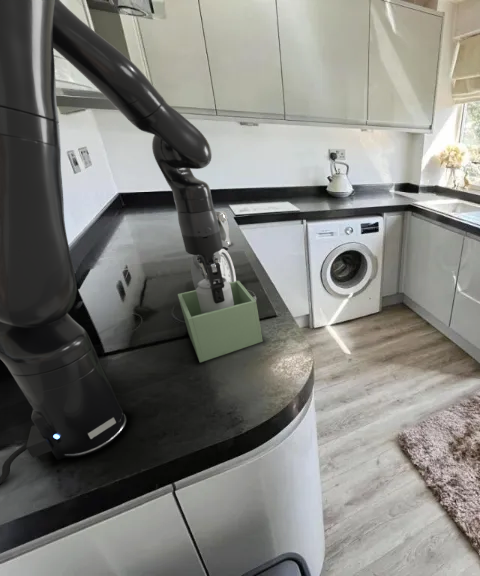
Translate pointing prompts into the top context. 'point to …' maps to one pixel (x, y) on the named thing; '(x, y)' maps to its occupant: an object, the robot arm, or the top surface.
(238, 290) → the bin
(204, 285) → the can
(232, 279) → the alarm clock
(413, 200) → the top surface
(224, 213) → the silver grey upright ornament
